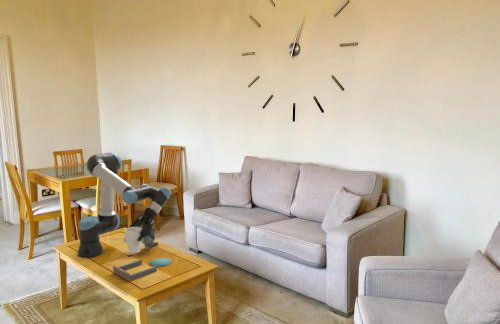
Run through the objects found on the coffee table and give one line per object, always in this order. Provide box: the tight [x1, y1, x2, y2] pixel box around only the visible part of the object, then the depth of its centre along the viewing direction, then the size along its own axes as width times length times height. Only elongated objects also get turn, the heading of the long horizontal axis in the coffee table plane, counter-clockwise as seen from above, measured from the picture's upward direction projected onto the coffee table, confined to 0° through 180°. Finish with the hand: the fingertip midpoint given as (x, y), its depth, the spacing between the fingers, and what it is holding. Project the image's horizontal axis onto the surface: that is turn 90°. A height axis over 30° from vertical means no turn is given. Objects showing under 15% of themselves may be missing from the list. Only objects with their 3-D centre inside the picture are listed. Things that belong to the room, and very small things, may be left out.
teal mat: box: [149, 257, 173, 268], centre depth 230 cm, size 13×13×1 cm
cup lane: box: [112, 259, 158, 282], centre depth 217 cm, size 16×18×4 cm
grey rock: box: [141, 219, 159, 251], centre depth 253 cm, size 14×15×18 cm
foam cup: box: [124, 226, 142, 254], centre depth 214 cm, size 10×9×13 cm
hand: (129, 243), depth 212 cm, fingers closed on foam cup, 9 cm apart
